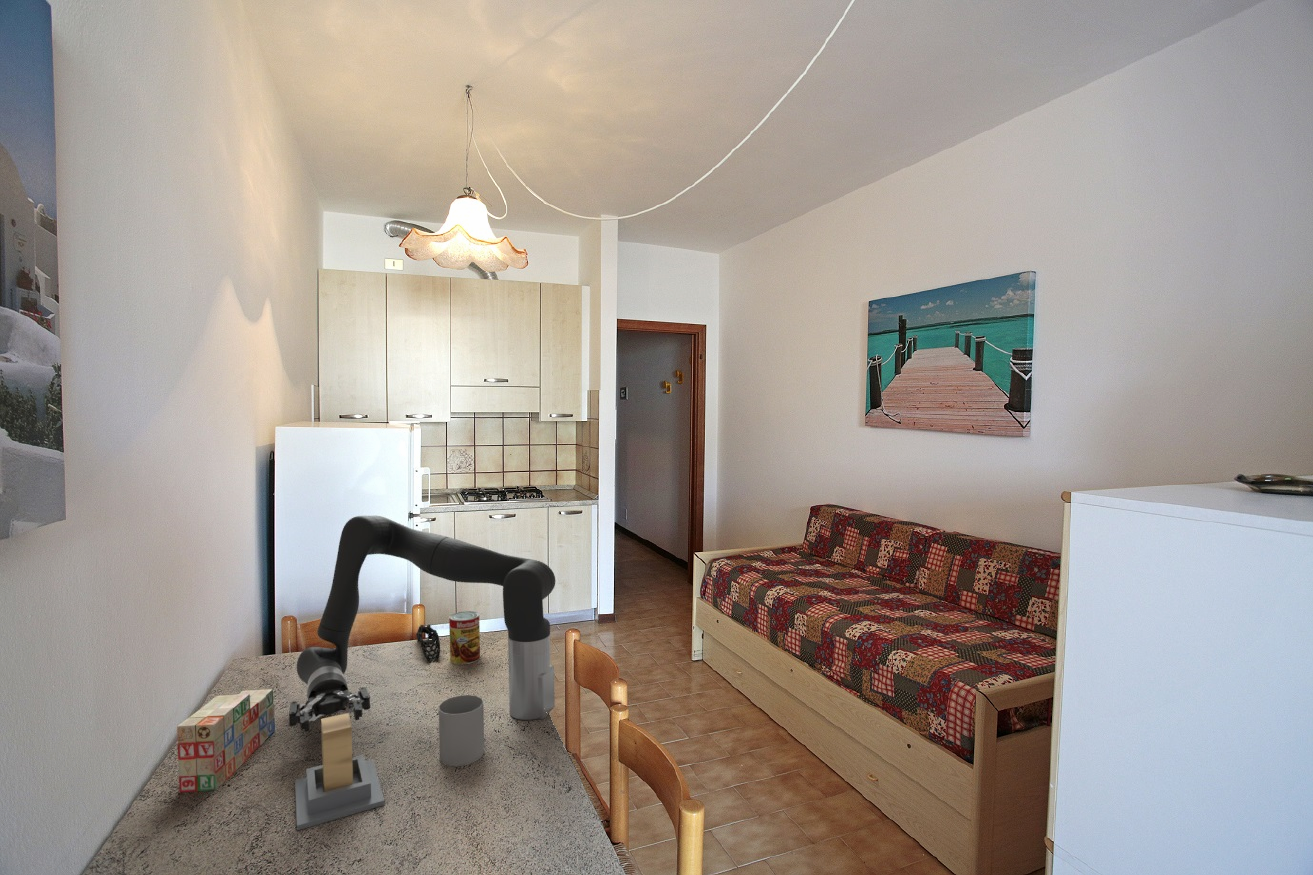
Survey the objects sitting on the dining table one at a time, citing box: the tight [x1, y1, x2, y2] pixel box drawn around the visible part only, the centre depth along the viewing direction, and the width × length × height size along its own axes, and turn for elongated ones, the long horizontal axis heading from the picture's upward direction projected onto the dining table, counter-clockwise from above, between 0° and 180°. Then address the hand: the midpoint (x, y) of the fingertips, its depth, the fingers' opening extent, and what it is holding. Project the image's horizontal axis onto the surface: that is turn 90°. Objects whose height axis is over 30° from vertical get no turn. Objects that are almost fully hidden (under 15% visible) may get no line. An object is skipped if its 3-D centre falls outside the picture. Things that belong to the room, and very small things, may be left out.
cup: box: [438, 694, 485, 767], centre depth 125 cm, size 8×8×10 cm
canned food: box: [448, 610, 481, 665], centre depth 174 cm, size 8×8×12 cm
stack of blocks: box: [176, 688, 276, 793], centre depth 124 cm, size 21×6×12 cm, turn 6°
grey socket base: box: [294, 754, 385, 831], centre depth 112 cm, size 15×13×3 cm
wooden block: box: [320, 713, 353, 792], centre depth 112 cm, size 6×4×12 cm
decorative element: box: [415, 624, 441, 664], centre depth 182 cm, size 22×5×6 cm, turn 27°
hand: (332, 720), depth 122 cm, fingers open, 8 cm apart
